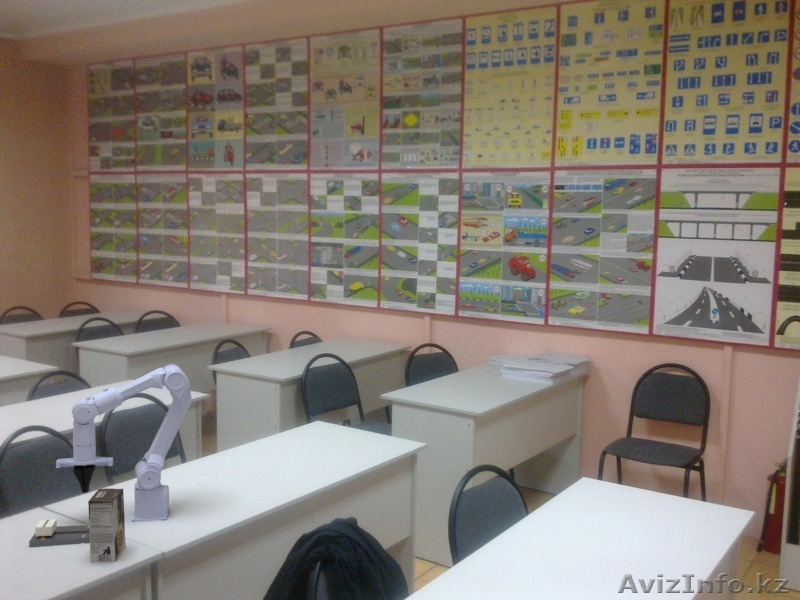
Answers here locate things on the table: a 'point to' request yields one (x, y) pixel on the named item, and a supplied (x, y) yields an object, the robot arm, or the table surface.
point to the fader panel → (63, 536)
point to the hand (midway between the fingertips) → (85, 491)
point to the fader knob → (46, 527)
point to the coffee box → (106, 525)
